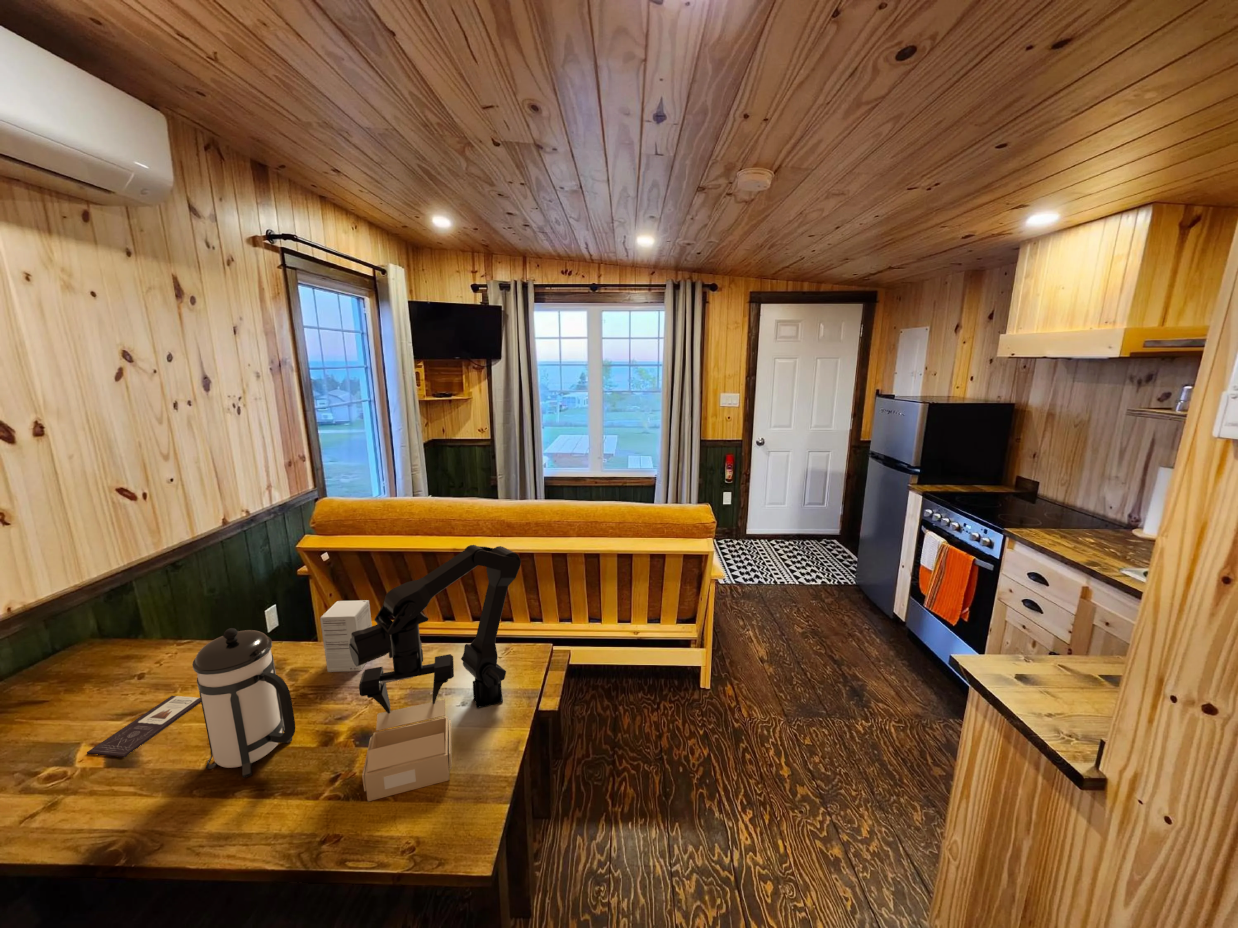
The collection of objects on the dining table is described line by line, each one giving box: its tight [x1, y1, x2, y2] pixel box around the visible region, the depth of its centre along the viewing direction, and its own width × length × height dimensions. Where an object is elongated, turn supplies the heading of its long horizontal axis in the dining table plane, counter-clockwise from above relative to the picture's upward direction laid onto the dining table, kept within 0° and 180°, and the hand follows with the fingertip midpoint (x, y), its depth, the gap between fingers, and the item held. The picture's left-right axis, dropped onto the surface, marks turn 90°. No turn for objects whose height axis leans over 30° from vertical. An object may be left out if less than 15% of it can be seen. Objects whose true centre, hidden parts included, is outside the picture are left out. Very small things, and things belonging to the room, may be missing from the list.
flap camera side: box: [367, 733, 445, 771], centre depth 93 cm, size 14×4×1 cm
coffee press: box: [192, 627, 296, 779], centre depth 99 cm, size 17×16×30 cm
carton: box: [361, 715, 453, 802], centre depth 98 cm, size 16×12×6 cm
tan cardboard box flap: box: [375, 699, 446, 732], centre depth 104 cm, size 14×4×1 cm, turn 109°
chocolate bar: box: [86, 695, 201, 758], centre depth 110 cm, size 9×1×18 cm
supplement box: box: [319, 599, 373, 673], centre depth 133 cm, size 10×9×17 cm
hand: (411, 707), depth 105 cm, fingers open, 9 cm apart
